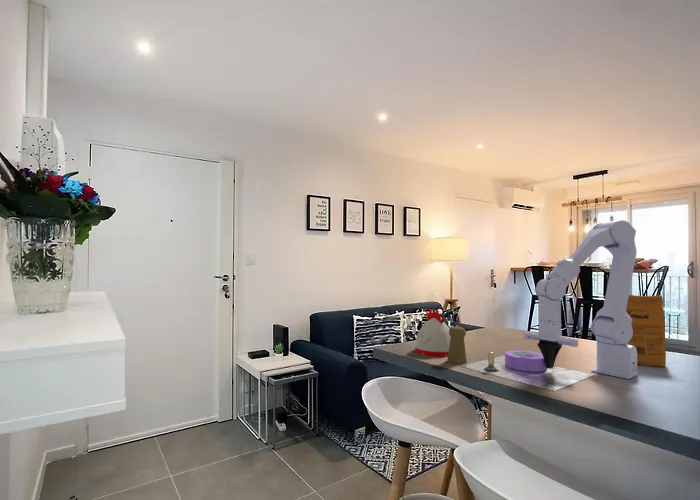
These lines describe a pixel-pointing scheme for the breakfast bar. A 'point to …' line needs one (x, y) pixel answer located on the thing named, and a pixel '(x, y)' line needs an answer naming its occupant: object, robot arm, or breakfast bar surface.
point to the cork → (457, 346)
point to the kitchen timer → (433, 336)
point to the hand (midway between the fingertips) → (549, 367)
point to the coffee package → (648, 329)
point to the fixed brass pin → (491, 362)
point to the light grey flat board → (531, 374)
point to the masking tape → (525, 361)
